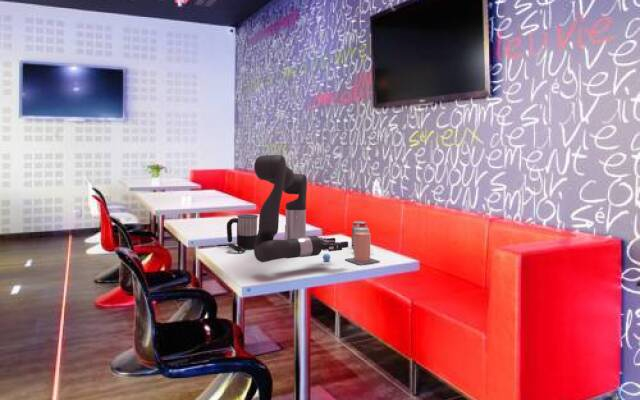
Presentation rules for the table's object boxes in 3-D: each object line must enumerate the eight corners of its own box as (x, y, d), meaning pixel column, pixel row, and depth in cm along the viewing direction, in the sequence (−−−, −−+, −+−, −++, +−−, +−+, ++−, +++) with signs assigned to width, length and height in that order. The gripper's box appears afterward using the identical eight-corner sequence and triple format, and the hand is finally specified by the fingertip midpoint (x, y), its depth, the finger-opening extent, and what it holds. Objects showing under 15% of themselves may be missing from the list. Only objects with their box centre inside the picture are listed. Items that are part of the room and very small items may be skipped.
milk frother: (255, 245, 231) (255, 213, 229) (262, 252, 216) (262, 218, 214) (224, 247, 227) (224, 214, 225) (229, 254, 212) (229, 219, 210)
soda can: (366, 250, 224) (366, 223, 222) (350, 249, 225) (350, 223, 224) (367, 247, 230) (368, 221, 229) (352, 246, 232) (353, 220, 230)
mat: (344, 260, 203) (344, 259, 203) (364, 257, 209) (364, 256, 209) (360, 265, 195) (360, 264, 195) (379, 262, 201) (379, 261, 201)
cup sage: (351, 252, 218) (351, 227, 216) (362, 251, 221) (362, 226, 220) (359, 255, 213) (360, 230, 211) (371, 253, 216) (371, 228, 215)
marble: (321, 260, 202) (321, 253, 202) (327, 259, 204) (327, 252, 204) (325, 262, 200) (325, 254, 200) (331, 261, 202) (331, 254, 201)
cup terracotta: (351, 259, 203) (351, 232, 201) (363, 257, 206) (363, 231, 205) (361, 262, 198) (361, 235, 196) (372, 260, 201) (373, 233, 200)
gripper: (317, 239, 180) (352, 235, 189) (296, 233, 191) (330, 230, 200) (316, 260, 180) (352, 255, 189) (296, 252, 192) (330, 248, 201)
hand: (341, 242), depth 195 cm, fingers open, 8 cm apart
